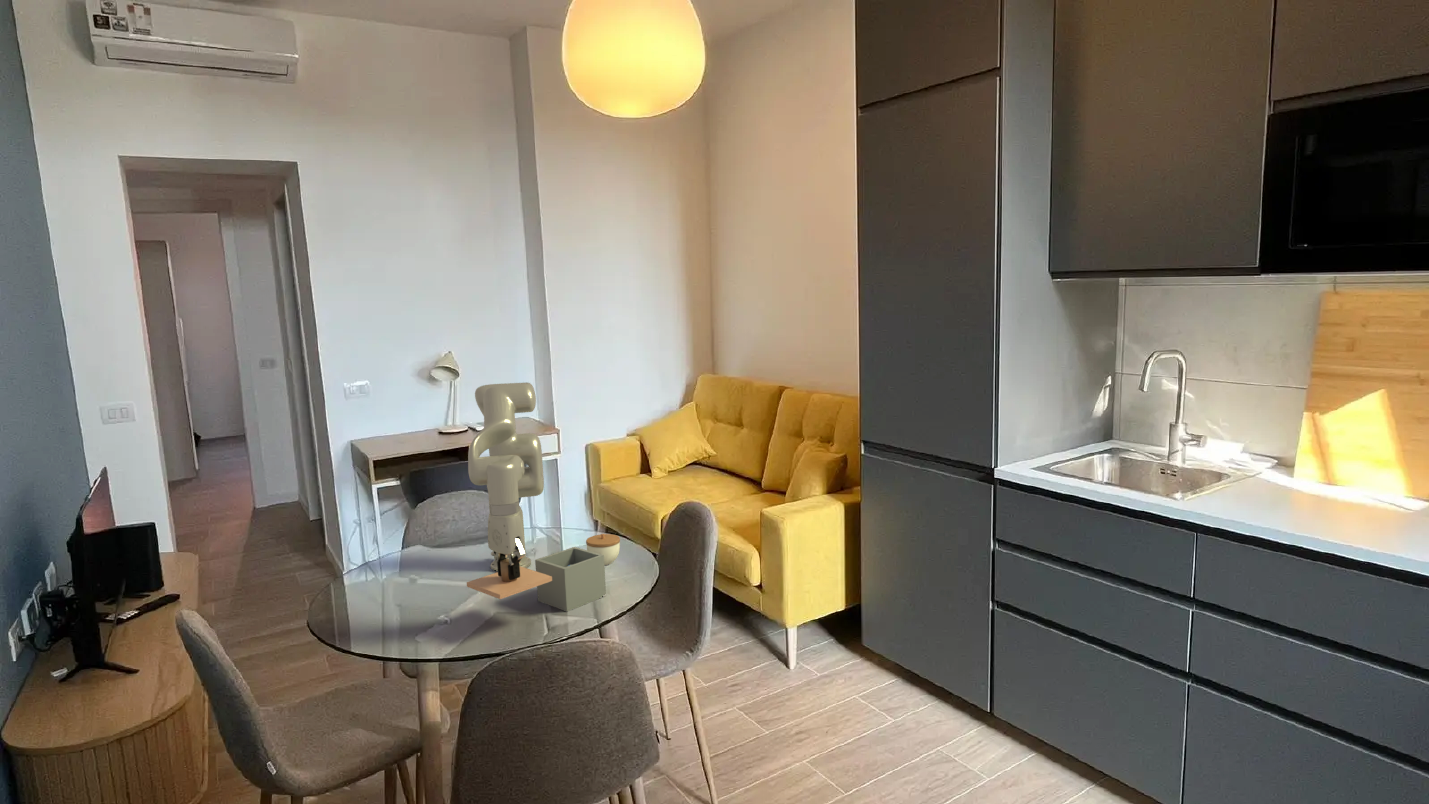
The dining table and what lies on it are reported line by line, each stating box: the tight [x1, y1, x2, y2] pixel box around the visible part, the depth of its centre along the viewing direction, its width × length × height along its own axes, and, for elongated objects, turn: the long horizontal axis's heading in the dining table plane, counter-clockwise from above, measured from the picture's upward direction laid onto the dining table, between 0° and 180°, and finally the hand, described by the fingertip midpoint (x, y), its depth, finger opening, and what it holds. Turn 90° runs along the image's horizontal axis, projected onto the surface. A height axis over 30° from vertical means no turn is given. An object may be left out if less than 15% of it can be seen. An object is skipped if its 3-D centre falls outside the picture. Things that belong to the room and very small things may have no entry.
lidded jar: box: [585, 533, 621, 566], centre depth 254 cm, size 11×11×9 cm
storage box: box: [534, 546, 607, 612], centre depth 224 cm, size 13×14×12 cm
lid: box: [466, 559, 552, 600], centre depth 208 cm, size 15×16×7 cm
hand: (509, 576), depth 208 cm, fingers closed on lid, 4 cm apart
